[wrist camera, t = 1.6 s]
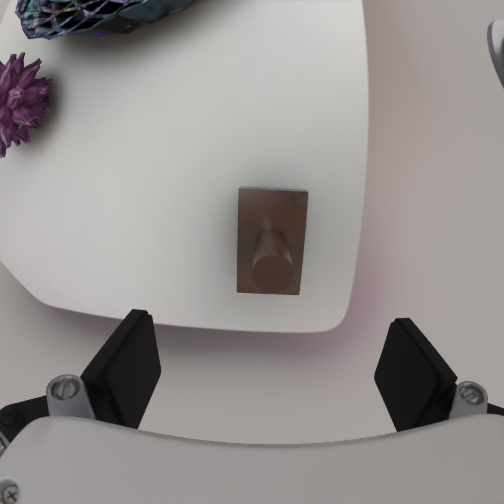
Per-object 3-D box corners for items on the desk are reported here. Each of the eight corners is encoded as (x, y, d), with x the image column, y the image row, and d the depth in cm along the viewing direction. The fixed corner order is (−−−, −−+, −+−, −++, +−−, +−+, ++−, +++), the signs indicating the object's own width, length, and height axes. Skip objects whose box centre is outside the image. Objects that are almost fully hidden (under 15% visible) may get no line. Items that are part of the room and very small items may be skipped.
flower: (65, 149, 26) (-2, 159, 23) (77, 54, 22) (7, 73, 19) (8, 156, 15) (-59, 171, 13) (29, 25, 11) (-46, 62, 9)
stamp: (241, 185, 25) (228, 197, 16) (302, 188, 25) (325, 202, 16) (239, 278, 28) (227, 333, 19) (295, 281, 28) (309, 337, 18)
